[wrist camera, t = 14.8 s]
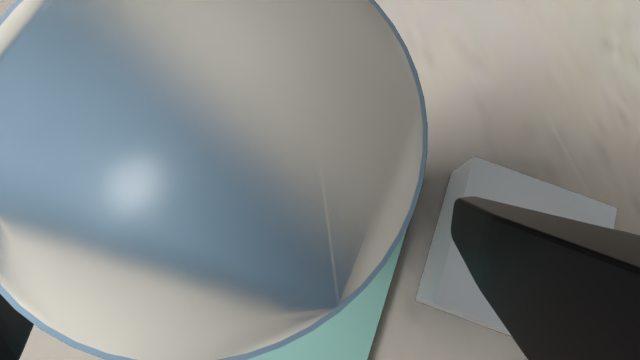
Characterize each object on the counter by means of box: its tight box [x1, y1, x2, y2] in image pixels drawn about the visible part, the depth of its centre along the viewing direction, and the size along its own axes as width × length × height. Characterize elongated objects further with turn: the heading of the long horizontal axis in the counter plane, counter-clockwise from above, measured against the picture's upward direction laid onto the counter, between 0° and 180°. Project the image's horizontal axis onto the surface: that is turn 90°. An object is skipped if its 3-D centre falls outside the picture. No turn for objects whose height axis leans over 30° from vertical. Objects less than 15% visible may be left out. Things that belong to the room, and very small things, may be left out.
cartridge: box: [0, 0, 428, 360], centre depth 11 cm, size 5×5×14 cm
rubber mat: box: [247, 226, 408, 360], centre depth 18 cm, size 11×11×1 cm
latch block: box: [415, 156, 617, 336], centre depth 17 cm, size 6×6×2 cm
